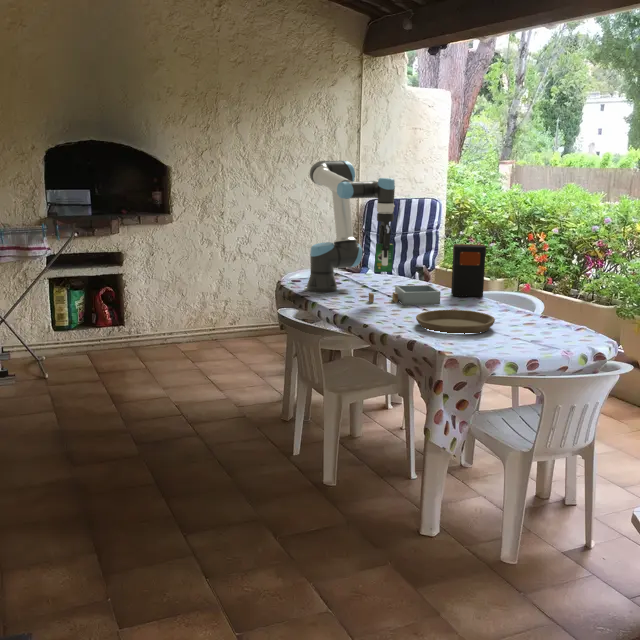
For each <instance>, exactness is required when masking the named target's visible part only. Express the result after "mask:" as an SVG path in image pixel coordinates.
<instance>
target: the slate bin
mask: <svg viewBox="0 0 640 640" xmlns="http://www.w3.org/2000/svg"><path fill="white" fill-rule="evenodd" d="M394 292H396V293H398V302H399V301H400V302H401V303H402V305H403V306H431V305H432V306H433V305H434V304H440V305H441V293H442V292H441V291H440V290H438V289H437V288H436V287H434V286H432V285H430V284H423V285H421V284H417V285H414V284H412V285H411V284H410V285H395V287H394ZM400 302H399V303H400ZM401 303H400V304H401ZM434 306H435V305H434Z"/></svg>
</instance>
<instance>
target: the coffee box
mask: <svg viewBox="0 0 640 640" xmlns="http://www.w3.org/2000/svg"><path fill="white" fill-rule="evenodd" d="M381 249H383V244H379V243H375V252H374V256H375V257H374V272H375V273H392V272H393V264H394V263H393V260H394V259H393V258H394V243H390V249H389V250H388V265H382V251H381Z"/></svg>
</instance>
